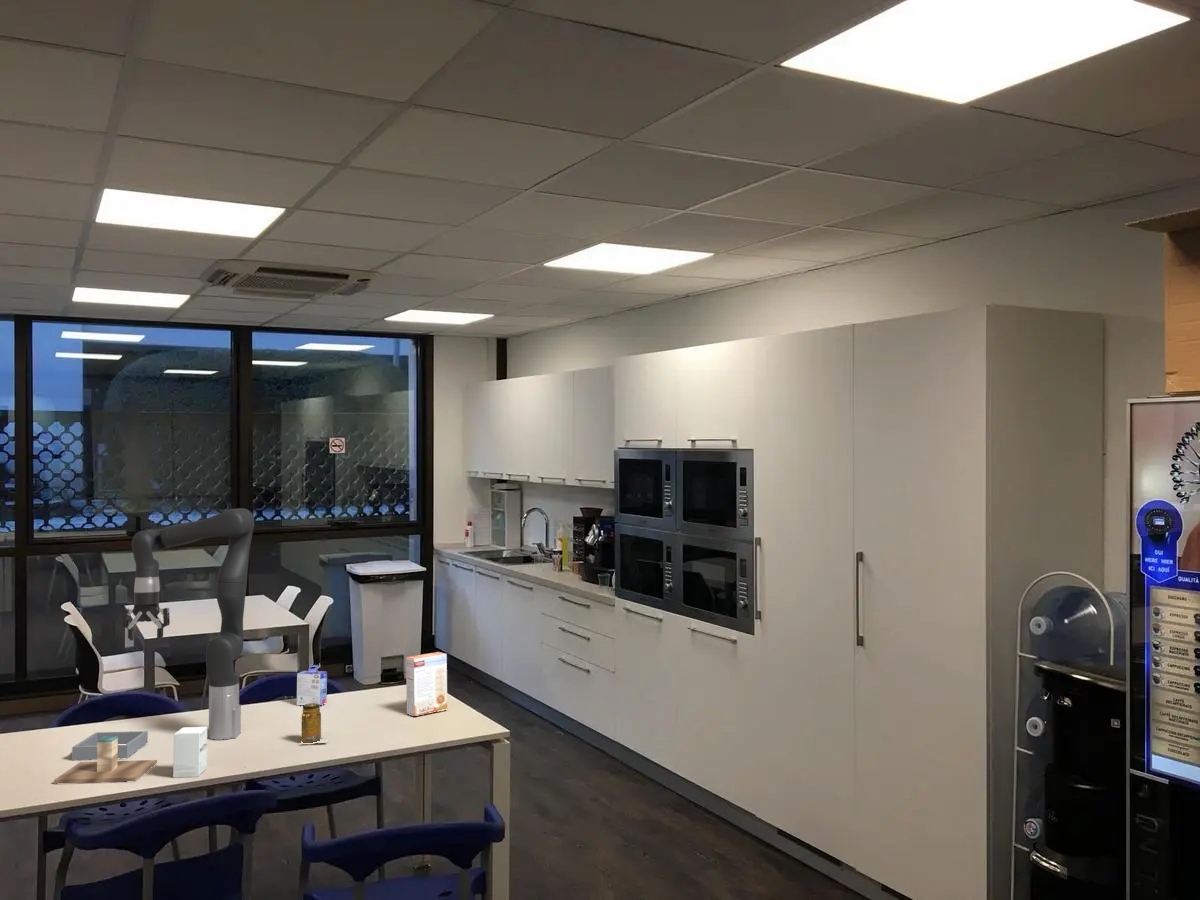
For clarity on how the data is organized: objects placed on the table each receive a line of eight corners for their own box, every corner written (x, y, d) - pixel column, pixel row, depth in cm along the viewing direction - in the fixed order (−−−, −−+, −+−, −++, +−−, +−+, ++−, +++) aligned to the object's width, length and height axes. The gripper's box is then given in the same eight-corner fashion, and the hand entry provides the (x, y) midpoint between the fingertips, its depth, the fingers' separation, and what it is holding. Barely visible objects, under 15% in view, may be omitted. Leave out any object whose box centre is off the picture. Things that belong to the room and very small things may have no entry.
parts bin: (147, 743, 302) (147, 731, 302) (127, 758, 286) (127, 745, 286) (95, 744, 301) (95, 732, 301) (72, 760, 285) (72, 747, 285)
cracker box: (438, 707, 347) (438, 651, 347) (447, 711, 342) (447, 653, 343) (405, 714, 337) (405, 656, 338) (414, 717, 333) (414, 658, 333)
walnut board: (157, 763, 281) (157, 759, 281) (135, 781, 265) (135, 777, 265) (80, 766, 279) (80, 762, 279) (53, 784, 263) (53, 779, 263)
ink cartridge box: (327, 703, 353) (327, 664, 354) (320, 707, 348) (320, 667, 348) (303, 702, 355) (303, 663, 356) (296, 705, 350) (296, 666, 350)
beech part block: (117, 767, 275) (117, 736, 275) (111, 771, 271) (111, 740, 271) (103, 767, 274) (103, 736, 274) (97, 771, 270) (97, 740, 270)
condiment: (302, 739, 307) (302, 702, 307) (328, 738, 308) (328, 701, 308) (298, 745, 300) (298, 708, 300) (326, 744, 301) (326, 707, 301)
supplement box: (199, 777, 269) (199, 733, 269) (172, 778, 268) (172, 733, 269) (207, 769, 276) (208, 726, 277) (181, 769, 276) (182, 726, 276)
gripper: (120, 592, 308) (118, 642, 307) (165, 590, 310) (164, 640, 309) (128, 590, 316) (127, 639, 314) (172, 589, 318) (171, 638, 316)
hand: (145, 640), depth 312 cm, fingers open, 8 cm apart
